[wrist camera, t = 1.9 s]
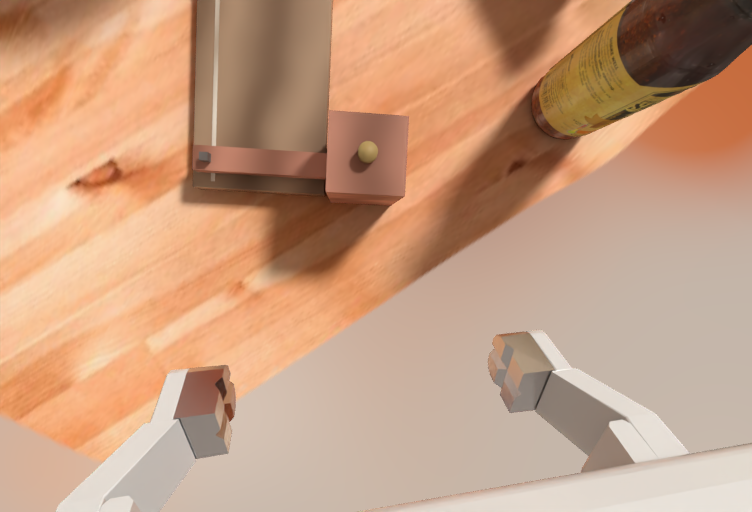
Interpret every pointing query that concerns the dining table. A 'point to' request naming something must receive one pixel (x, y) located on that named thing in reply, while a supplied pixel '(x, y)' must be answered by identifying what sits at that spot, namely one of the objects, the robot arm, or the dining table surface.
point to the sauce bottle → (640, 62)
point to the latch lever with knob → (330, 159)
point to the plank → (262, 85)
